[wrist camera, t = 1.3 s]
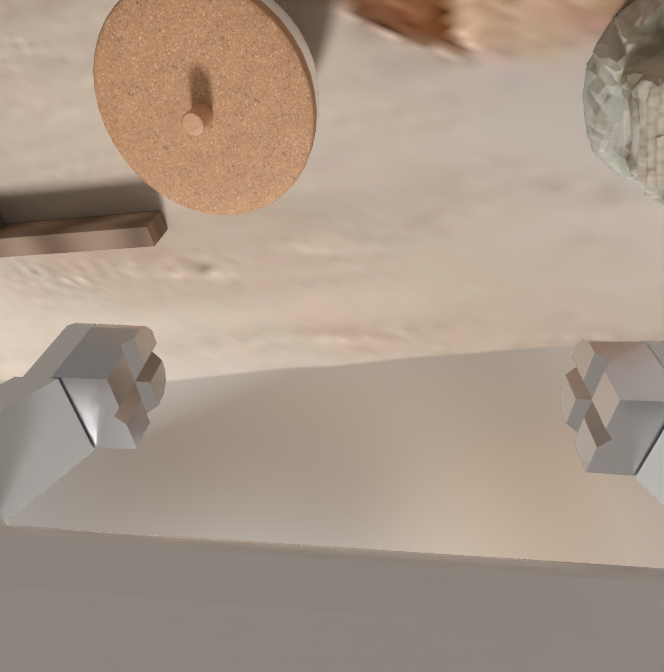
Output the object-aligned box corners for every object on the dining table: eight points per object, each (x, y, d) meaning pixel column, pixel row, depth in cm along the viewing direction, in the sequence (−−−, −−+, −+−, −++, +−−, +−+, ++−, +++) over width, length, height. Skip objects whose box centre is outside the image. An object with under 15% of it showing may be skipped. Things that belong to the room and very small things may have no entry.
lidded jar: (117, 27, 28) (21, 62, 21) (272, -84, 24) (219, -87, 17) (222, 189, 34) (175, 258, 27) (362, 120, 30) (349, 181, 23)
